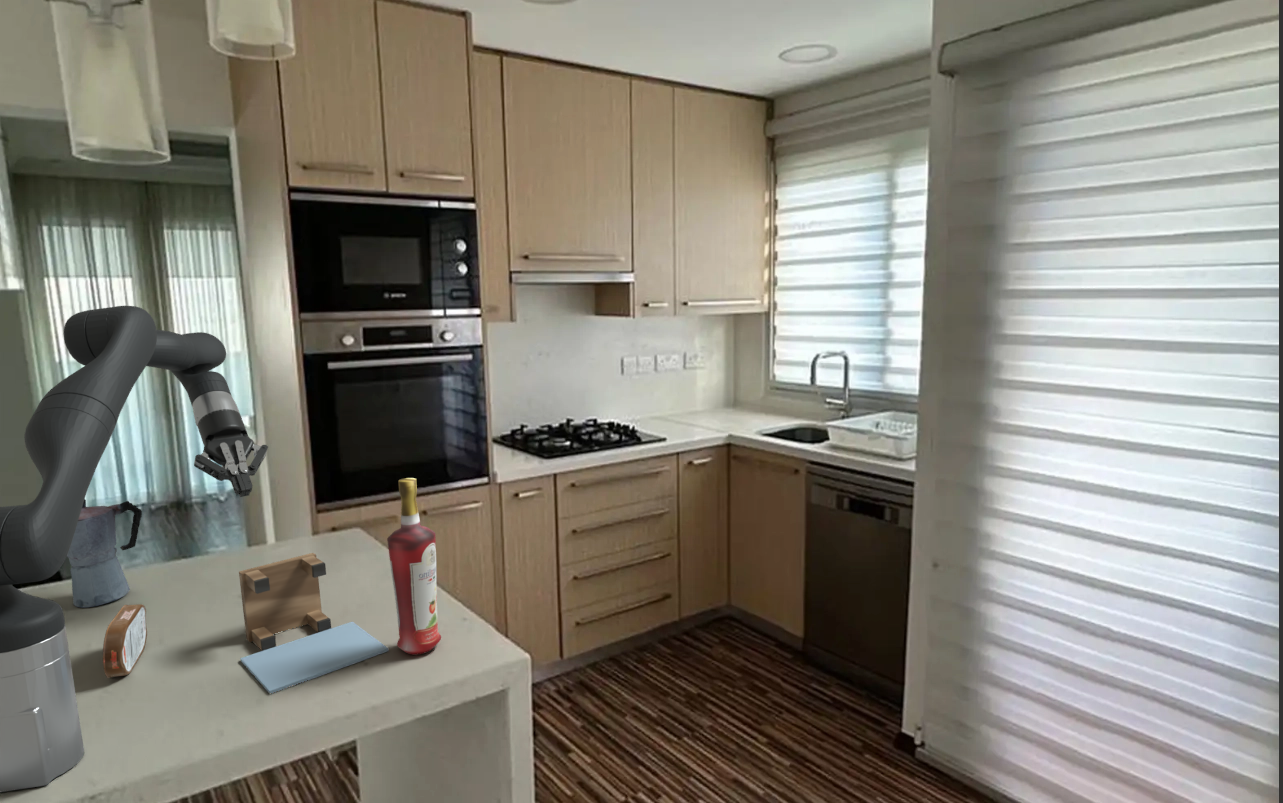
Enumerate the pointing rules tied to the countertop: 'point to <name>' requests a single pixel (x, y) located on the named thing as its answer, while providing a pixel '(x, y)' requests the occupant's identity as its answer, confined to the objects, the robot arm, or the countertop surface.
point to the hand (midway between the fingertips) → (245, 493)
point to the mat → (312, 656)
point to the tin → (124, 640)
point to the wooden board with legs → (282, 598)
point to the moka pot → (99, 555)
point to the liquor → (414, 576)
